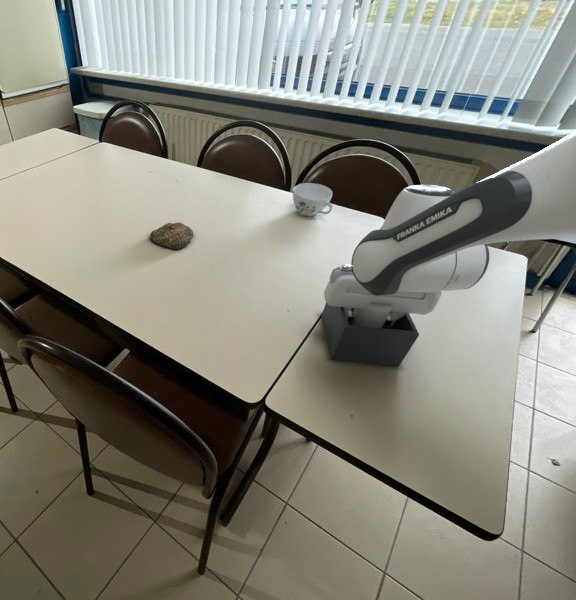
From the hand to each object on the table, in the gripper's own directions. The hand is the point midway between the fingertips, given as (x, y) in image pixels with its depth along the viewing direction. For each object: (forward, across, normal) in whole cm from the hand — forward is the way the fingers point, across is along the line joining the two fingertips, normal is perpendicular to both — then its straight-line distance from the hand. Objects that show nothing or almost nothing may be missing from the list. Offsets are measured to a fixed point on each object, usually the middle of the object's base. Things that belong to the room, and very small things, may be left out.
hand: (366, 321), depth 78 cm
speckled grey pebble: (+6, -47, +36) cm, 60 cm away
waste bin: (+6, 0, 0) cm, 6 cm away
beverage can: (+5, 0, 0) cm, 5 cm away
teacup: (+6, -3, +58) cm, 59 cm away
